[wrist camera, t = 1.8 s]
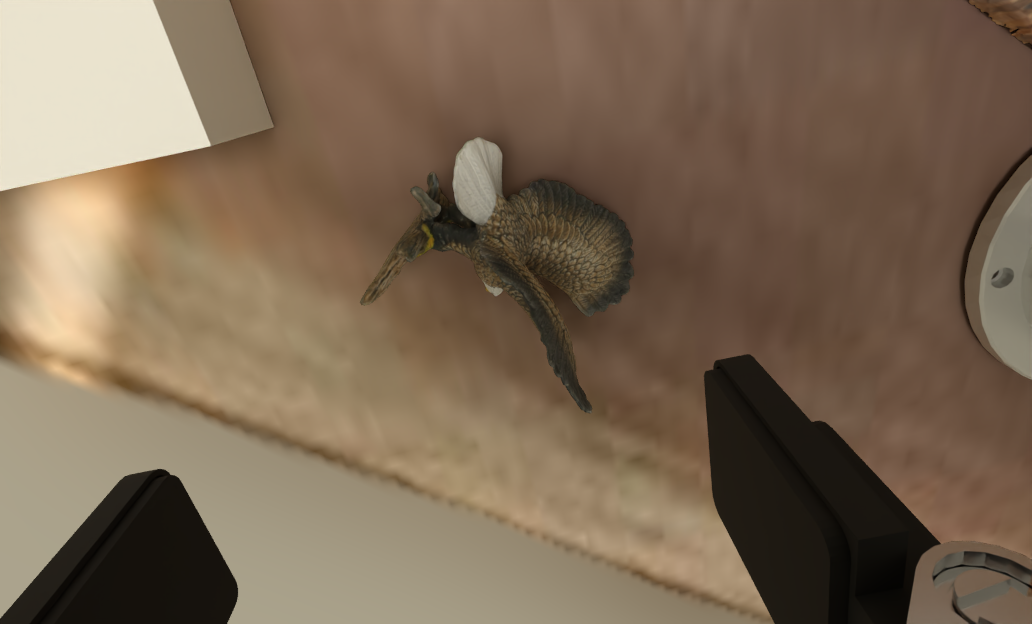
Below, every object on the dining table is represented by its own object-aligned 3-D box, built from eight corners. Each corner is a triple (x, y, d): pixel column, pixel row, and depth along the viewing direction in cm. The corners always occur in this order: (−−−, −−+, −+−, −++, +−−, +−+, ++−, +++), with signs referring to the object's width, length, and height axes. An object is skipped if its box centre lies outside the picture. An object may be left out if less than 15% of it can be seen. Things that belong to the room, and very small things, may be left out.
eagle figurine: (372, 322, 23) (571, 423, 23) (340, 280, 16) (624, 425, 16) (460, 167, 25) (645, 263, 25) (465, 68, 18) (722, 202, 18)
